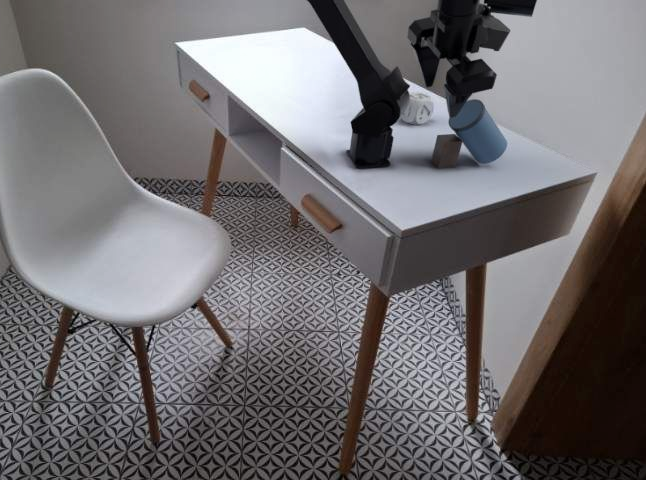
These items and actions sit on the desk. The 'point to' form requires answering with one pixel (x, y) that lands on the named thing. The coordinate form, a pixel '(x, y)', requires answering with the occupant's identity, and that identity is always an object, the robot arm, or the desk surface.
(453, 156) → the small dark brown block
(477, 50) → the robot arm
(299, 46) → the desk surface
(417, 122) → the die
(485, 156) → the blue canister
